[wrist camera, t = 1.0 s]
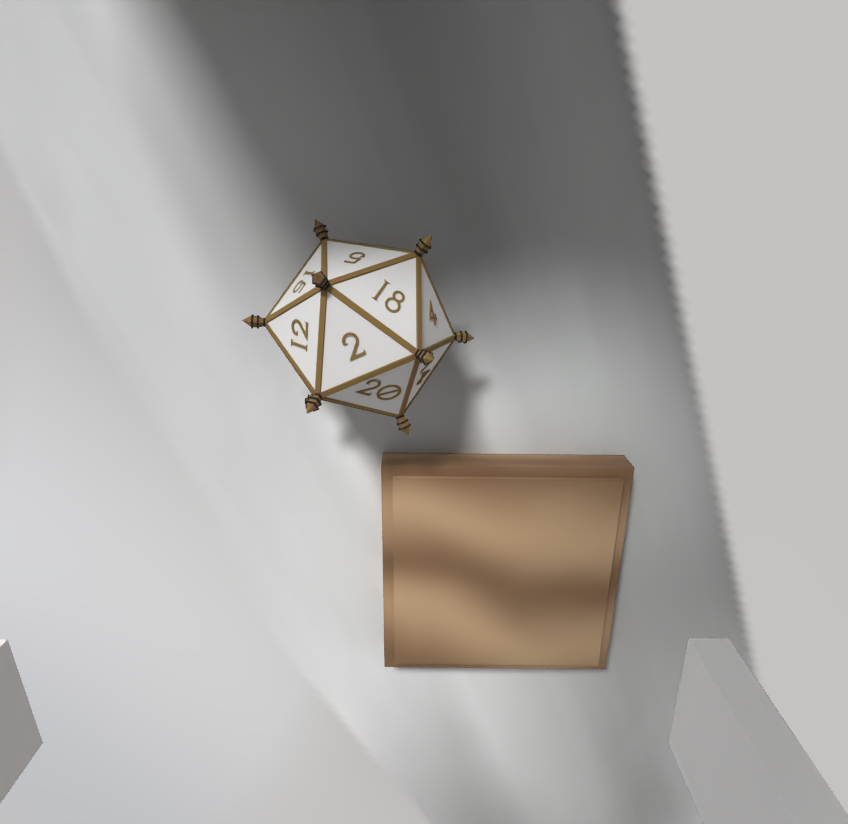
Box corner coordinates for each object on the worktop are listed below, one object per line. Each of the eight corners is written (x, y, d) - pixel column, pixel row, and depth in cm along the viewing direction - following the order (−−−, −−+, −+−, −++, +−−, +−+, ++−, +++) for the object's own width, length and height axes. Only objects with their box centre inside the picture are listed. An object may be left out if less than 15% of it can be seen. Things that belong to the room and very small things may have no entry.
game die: (411, 291, 32) (548, 333, 25) (323, 418, 31) (436, 500, 24) (294, 171, 26) (429, 180, 18) (181, 325, 25) (275, 397, 18)
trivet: (383, 452, 31) (380, 468, 29) (624, 455, 31) (637, 471, 29) (386, 647, 35) (384, 671, 33) (597, 649, 35) (607, 674, 33)
